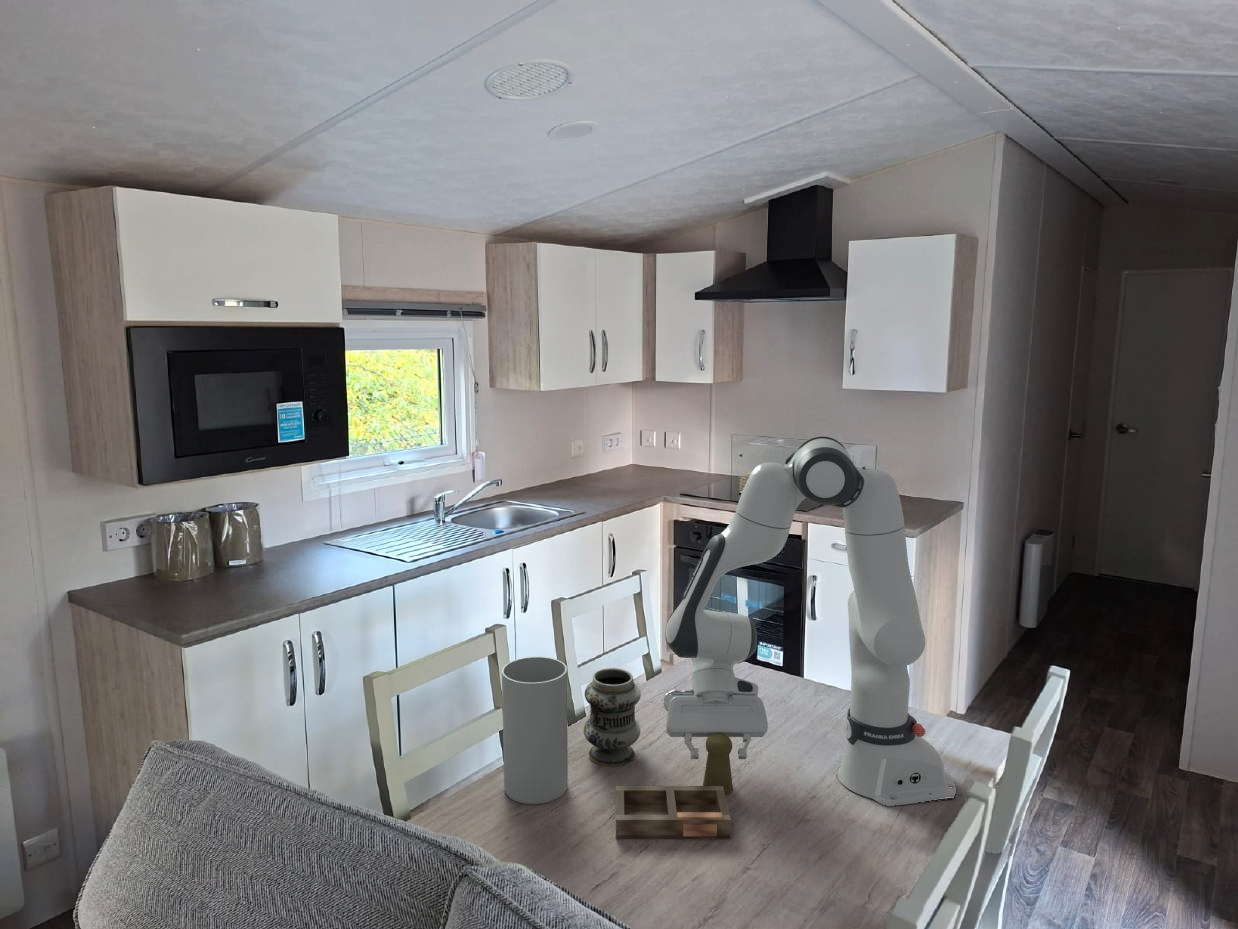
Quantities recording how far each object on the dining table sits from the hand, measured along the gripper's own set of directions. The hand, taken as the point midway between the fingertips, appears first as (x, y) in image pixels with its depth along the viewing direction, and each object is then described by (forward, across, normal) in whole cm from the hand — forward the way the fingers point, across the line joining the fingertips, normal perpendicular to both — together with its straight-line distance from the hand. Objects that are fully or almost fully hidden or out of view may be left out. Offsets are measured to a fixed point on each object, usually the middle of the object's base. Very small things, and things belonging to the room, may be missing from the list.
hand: (718, 758), depth 167 cm
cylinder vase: (+5, -36, +5) cm, 37 cm away
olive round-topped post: (+4, 0, +5) cm, 7 cm away
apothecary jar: (-5, -21, +14) cm, 26 cm away
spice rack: (+12, -10, -3) cm, 16 cm away
